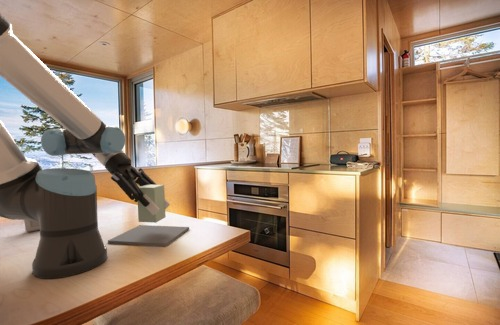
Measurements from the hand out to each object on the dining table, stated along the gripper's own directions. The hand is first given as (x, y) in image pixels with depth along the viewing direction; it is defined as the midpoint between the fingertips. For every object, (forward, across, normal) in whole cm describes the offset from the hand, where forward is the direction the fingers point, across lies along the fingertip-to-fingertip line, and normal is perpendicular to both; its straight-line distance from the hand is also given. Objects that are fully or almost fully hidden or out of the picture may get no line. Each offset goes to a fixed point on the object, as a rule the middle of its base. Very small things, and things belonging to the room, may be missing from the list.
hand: (162, 209), depth 84 cm
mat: (+3, +1, -9) cm, 9 cm away
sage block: (0, 0, -5) cm, 5 cm away
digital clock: (-27, -4, -40) cm, 48 cm away
